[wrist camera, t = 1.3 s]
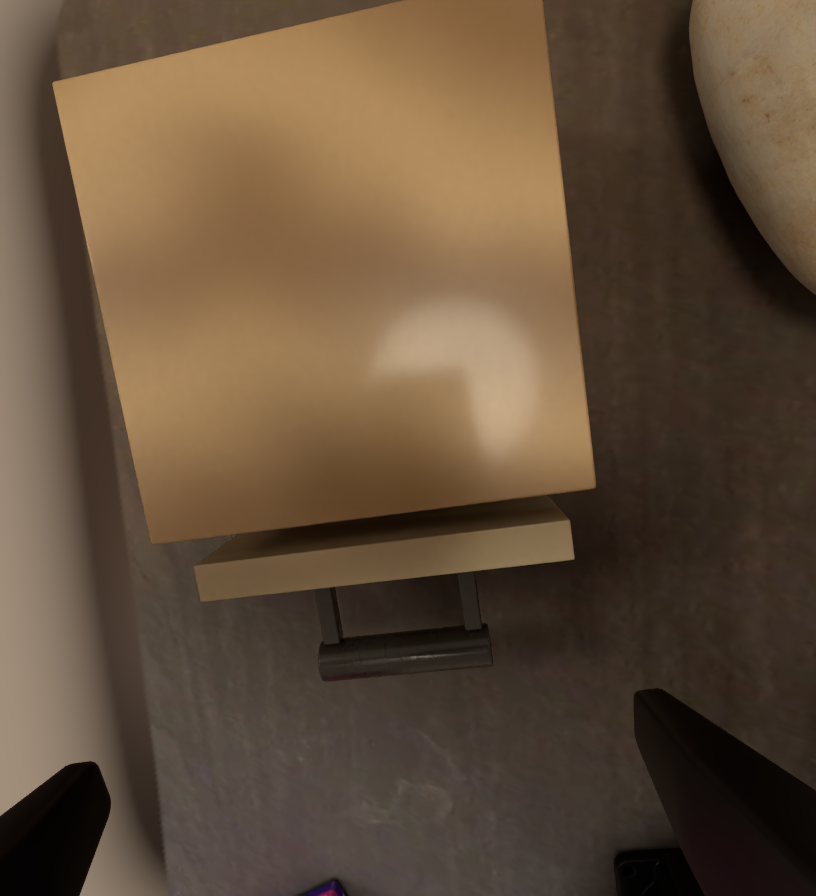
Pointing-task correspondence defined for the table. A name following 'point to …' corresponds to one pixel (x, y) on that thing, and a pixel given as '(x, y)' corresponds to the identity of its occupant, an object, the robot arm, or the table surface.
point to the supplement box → (328, 890)
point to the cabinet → (336, 268)
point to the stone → (764, 114)
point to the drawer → (392, 575)
